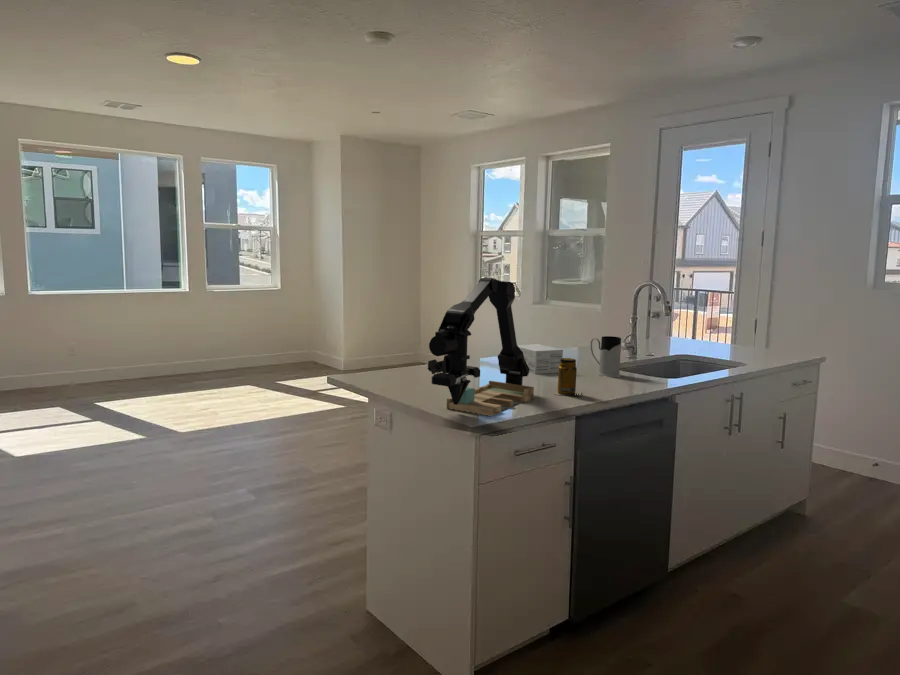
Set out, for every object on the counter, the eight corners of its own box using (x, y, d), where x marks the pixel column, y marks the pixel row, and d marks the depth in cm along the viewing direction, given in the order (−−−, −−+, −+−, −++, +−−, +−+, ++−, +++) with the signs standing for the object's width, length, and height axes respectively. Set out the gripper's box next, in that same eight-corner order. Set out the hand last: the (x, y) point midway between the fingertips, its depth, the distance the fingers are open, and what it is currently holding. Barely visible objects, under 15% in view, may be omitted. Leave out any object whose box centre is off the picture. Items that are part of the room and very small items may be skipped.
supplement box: (562, 372, 257) (563, 349, 256) (534, 374, 251) (536, 350, 250) (539, 365, 272) (540, 343, 271) (512, 366, 266) (513, 344, 265)
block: (460, 398, 197) (460, 385, 197) (474, 401, 195) (474, 388, 194) (451, 401, 193) (452, 388, 193) (466, 404, 191) (466, 391, 190)
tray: (489, 392, 217) (490, 380, 216) (533, 399, 208) (533, 387, 208) (446, 408, 193) (446, 395, 192) (493, 416, 185) (494, 403, 184)
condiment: (557, 390, 223) (559, 356, 221) (582, 393, 220) (584, 358, 218) (554, 395, 216) (556, 360, 214) (580, 397, 213) (582, 362, 212)
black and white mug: (611, 378, 248) (613, 339, 246) (582, 371, 259) (584, 335, 257) (624, 375, 253) (627, 338, 251) (596, 369, 264) (598, 333, 262)
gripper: (450, 345, 198) (448, 394, 200) (416, 353, 182) (415, 406, 184) (481, 349, 192) (480, 399, 195) (449, 357, 177) (448, 412, 179)
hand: (455, 404), depth 188 cm, fingers closed
